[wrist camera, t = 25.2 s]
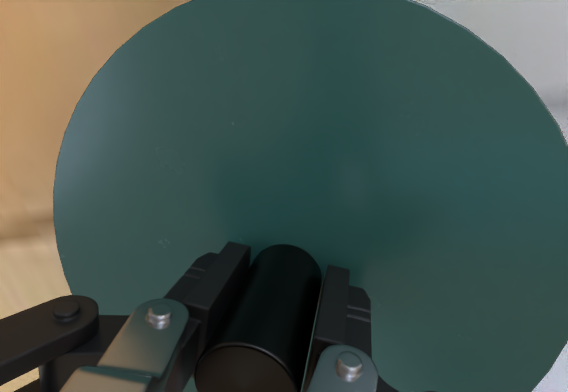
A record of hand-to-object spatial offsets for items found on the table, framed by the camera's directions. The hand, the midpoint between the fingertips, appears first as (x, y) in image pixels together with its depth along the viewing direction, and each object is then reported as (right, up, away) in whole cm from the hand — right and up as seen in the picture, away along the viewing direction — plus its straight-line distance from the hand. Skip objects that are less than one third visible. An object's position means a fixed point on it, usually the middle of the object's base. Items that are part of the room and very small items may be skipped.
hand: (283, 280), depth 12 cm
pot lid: (0, 0, +1) cm, 1 cm away
